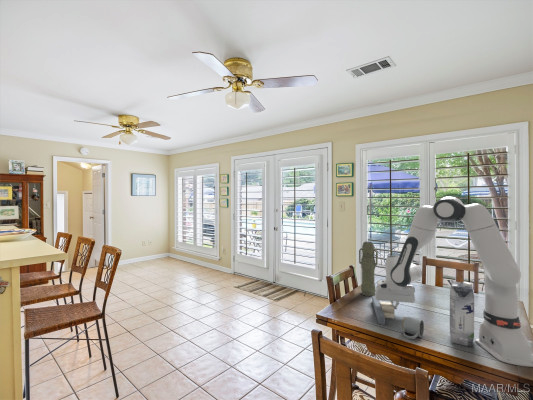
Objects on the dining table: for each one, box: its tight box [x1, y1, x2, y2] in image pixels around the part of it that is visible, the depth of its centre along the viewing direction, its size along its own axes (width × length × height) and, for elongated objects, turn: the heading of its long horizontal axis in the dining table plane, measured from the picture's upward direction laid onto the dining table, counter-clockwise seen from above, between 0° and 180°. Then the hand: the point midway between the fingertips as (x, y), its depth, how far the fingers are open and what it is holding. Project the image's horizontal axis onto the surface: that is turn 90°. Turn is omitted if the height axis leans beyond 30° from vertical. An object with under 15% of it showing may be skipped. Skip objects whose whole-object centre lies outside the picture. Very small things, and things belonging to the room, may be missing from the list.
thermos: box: [358, 241, 379, 297], centre depth 184 cm, size 9×12×35 cm
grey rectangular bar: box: [371, 296, 386, 326], centre depth 155 cm, size 30×3×4 cm, turn 165°
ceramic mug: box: [401, 316, 425, 340], centre depth 130 cm, size 11×8×8 cm
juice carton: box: [449, 280, 475, 348], centre depth 124 cm, size 9×10×27 cm
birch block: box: [379, 300, 395, 319], centre depth 153 cm, size 10×6×5 cm, turn 165°
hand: (394, 308), depth 153 cm, fingers closed
